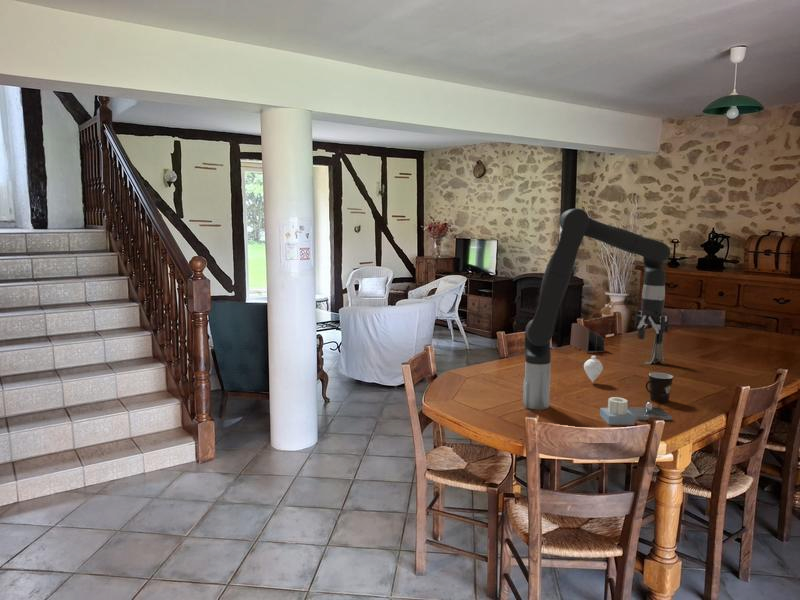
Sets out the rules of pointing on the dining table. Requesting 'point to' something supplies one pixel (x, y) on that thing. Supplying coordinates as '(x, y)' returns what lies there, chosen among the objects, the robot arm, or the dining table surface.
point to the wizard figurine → (657, 352)
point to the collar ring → (617, 406)
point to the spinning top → (593, 368)
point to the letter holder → (586, 339)
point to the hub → (648, 412)
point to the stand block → (617, 418)
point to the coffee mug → (659, 387)
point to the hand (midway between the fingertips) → (649, 341)
